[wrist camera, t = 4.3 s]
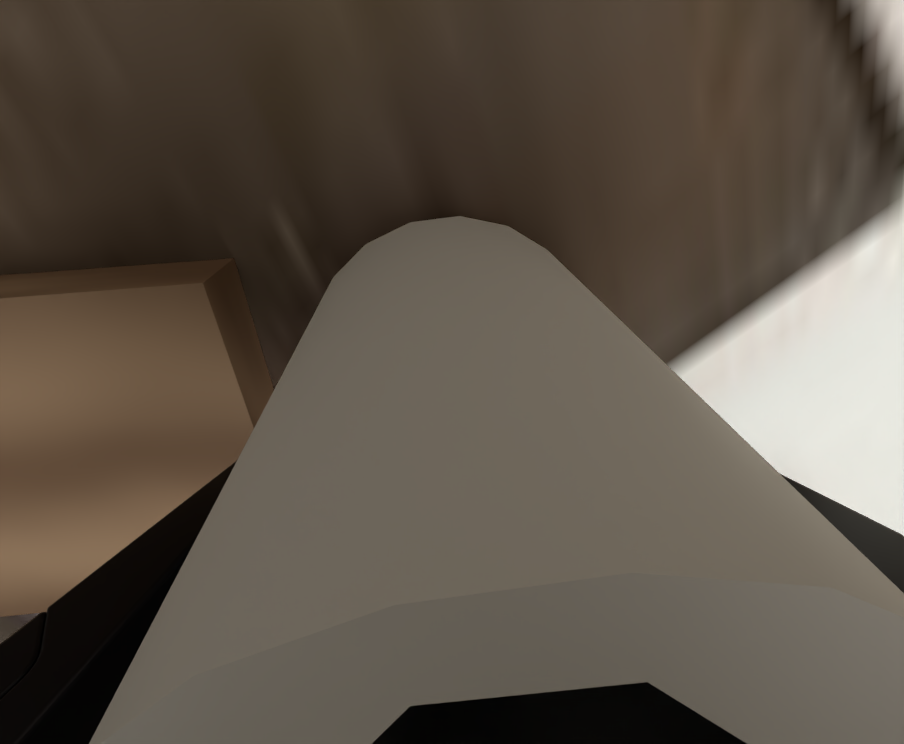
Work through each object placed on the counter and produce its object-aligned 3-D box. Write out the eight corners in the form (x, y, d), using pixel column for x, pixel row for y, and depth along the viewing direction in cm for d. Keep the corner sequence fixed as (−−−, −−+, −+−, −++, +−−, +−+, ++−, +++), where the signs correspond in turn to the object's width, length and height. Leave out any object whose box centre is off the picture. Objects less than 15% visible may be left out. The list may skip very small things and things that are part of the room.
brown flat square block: (321, 527, 18) (309, 584, 15) (37, 555, 17) (-17, 618, 15) (240, 253, 12) (202, 283, 10) (-183, 284, 12) (-318, 322, 9)
